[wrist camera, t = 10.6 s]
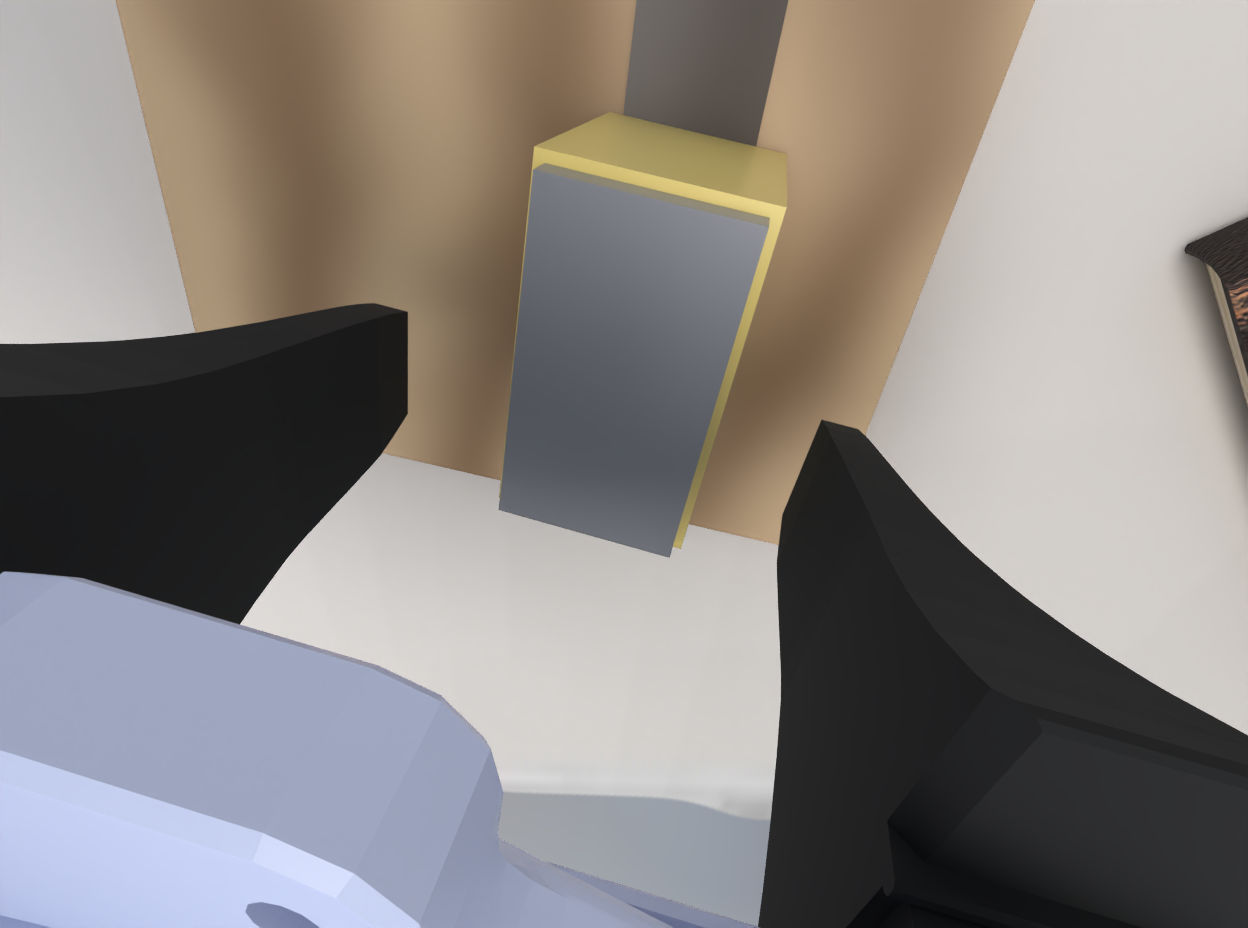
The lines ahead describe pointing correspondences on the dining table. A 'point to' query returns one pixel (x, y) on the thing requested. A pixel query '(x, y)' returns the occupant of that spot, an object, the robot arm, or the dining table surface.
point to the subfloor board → (501, 175)
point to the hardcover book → (1229, 286)
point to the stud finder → (632, 322)
